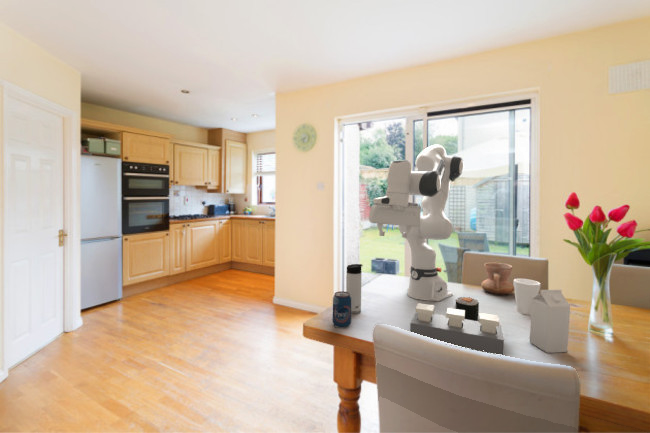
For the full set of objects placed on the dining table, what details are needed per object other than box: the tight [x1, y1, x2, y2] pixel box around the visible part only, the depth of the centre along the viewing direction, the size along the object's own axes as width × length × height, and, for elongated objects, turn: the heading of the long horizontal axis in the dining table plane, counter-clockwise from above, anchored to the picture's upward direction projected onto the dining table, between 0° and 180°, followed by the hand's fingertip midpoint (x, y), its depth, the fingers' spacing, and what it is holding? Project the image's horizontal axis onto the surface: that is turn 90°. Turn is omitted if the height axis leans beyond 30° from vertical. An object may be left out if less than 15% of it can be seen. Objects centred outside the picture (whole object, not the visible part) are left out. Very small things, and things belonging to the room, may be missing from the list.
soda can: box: [332, 290, 352, 329], centre depth 115 cm, size 7×7×12 cm
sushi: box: [454, 296, 480, 321], centre depth 122 cm, size 8×8×8 cm
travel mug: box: [345, 263, 363, 315], centre depth 129 cm, size 6×7×20 cm
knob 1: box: [415, 302, 435, 322], centre depth 109 cm, size 6×6×5 cm
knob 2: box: [478, 312, 500, 334], centre depth 101 cm, size 6×6×5 cm
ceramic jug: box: [481, 261, 515, 296], centre depth 155 cm, size 18×14×14 cm
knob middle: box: [445, 307, 465, 328], centre depth 105 cm, size 6×6×5 cm
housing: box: [409, 312, 505, 356], centre depth 105 cm, size 28×12×5 cm, turn 64°
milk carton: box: [529, 289, 571, 354], centre depth 99 cm, size 7×7×19 cm
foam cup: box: [513, 278, 541, 316], centre depth 129 cm, size 10×9×13 cm
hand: (393, 236), depth 119 cm, fingers open, 8 cm apart
